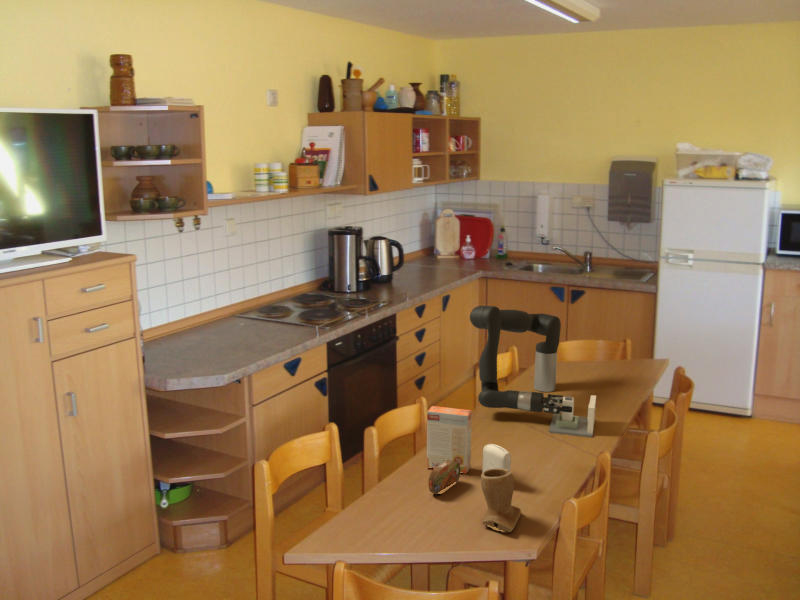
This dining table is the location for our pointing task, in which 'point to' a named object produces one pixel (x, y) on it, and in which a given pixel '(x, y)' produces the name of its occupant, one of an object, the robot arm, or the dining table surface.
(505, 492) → the stone cup
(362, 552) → the dining table surface
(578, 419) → the wall outlet
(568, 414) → the block
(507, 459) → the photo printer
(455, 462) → the tin
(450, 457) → the cracker box
